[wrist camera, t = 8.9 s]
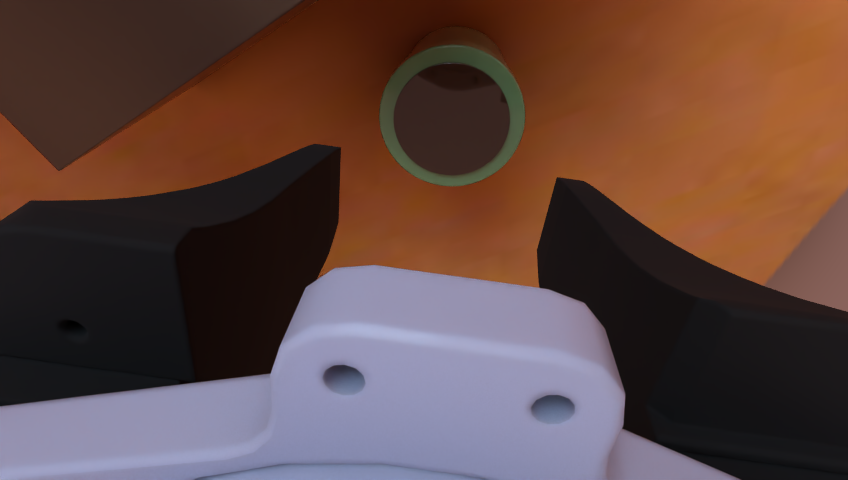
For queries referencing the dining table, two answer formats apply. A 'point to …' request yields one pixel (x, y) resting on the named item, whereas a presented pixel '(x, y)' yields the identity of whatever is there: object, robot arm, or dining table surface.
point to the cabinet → (115, 61)
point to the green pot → (452, 109)
